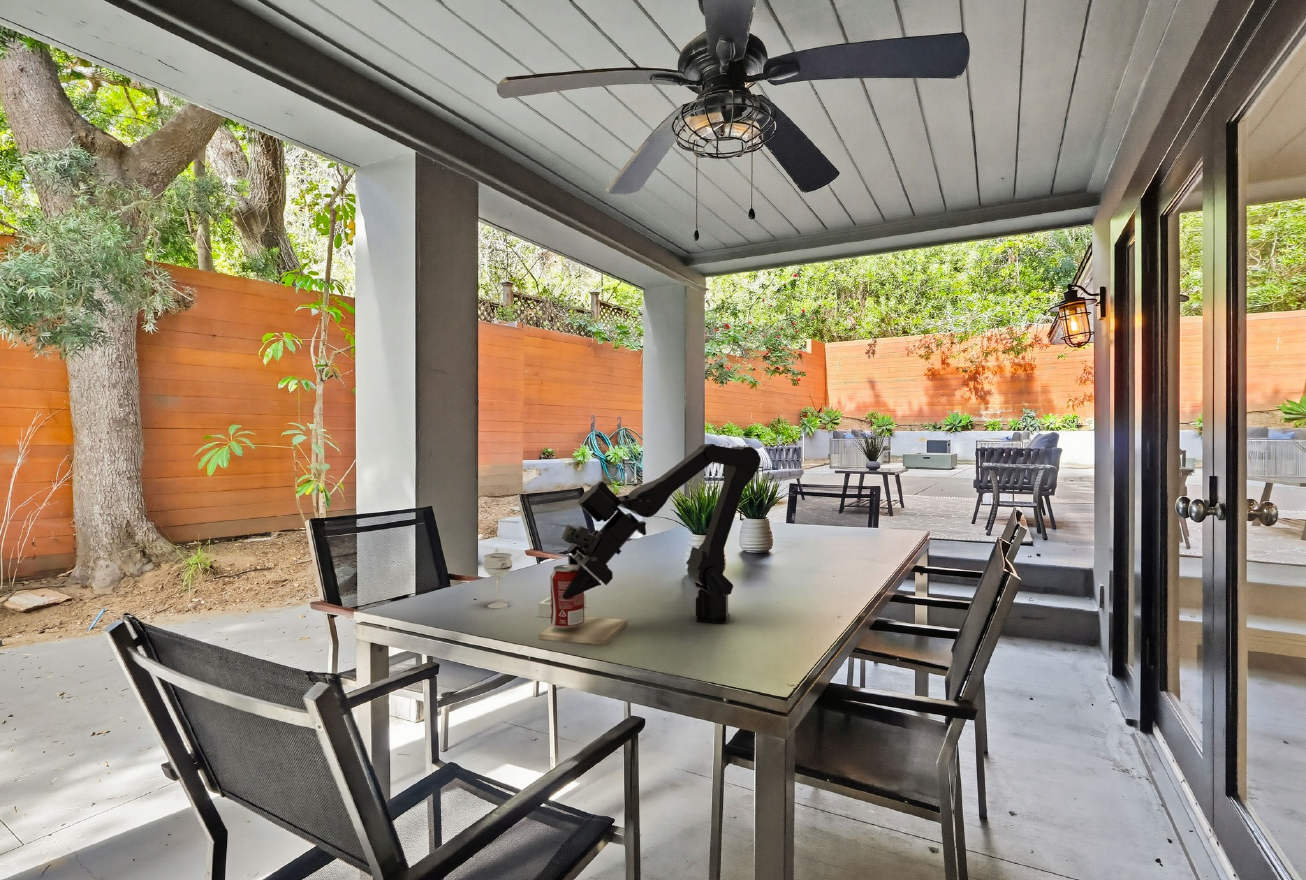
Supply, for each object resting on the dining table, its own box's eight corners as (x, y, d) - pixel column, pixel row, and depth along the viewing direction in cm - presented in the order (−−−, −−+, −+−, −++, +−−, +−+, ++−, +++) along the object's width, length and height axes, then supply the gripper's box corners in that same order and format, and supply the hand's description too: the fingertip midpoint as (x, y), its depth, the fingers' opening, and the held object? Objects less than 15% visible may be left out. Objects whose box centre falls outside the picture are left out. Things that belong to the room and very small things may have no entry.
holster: (586, 606, 150) (586, 594, 150) (568, 618, 140) (568, 605, 140) (557, 604, 152) (557, 592, 152) (538, 616, 142) (538, 603, 142)
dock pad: (627, 624, 136) (627, 619, 136) (605, 645, 122) (605, 639, 122) (567, 619, 139) (567, 615, 139) (539, 639, 126) (539, 634, 126)
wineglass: (481, 603, 153) (481, 554, 153) (509, 600, 156) (509, 552, 156) (486, 610, 147) (486, 559, 147) (515, 607, 150) (515, 556, 150)
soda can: (589, 627, 128) (588, 568, 128) (557, 632, 125) (556, 572, 125) (577, 619, 134) (576, 562, 134) (546, 623, 131) (545, 566, 131)
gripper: (576, 506, 139) (526, 560, 136) (595, 516, 122) (538, 578, 118) (611, 539, 142) (563, 593, 138) (635, 553, 124) (580, 615, 121)
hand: (560, 594), depth 129 cm, fingers closed on soda can, 7 cm apart
